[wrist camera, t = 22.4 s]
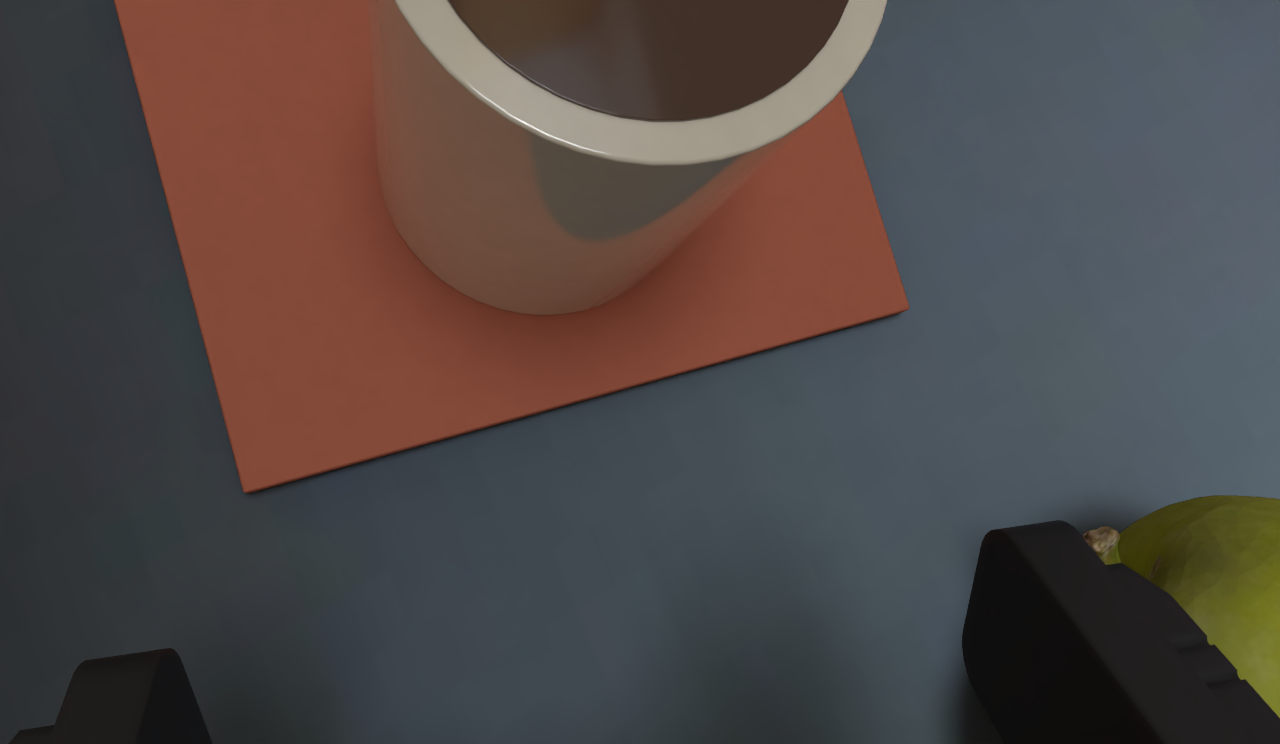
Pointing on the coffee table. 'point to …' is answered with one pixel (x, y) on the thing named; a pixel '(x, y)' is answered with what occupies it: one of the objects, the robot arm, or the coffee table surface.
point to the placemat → (405, 288)
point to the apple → (1214, 574)
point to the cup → (588, 128)
